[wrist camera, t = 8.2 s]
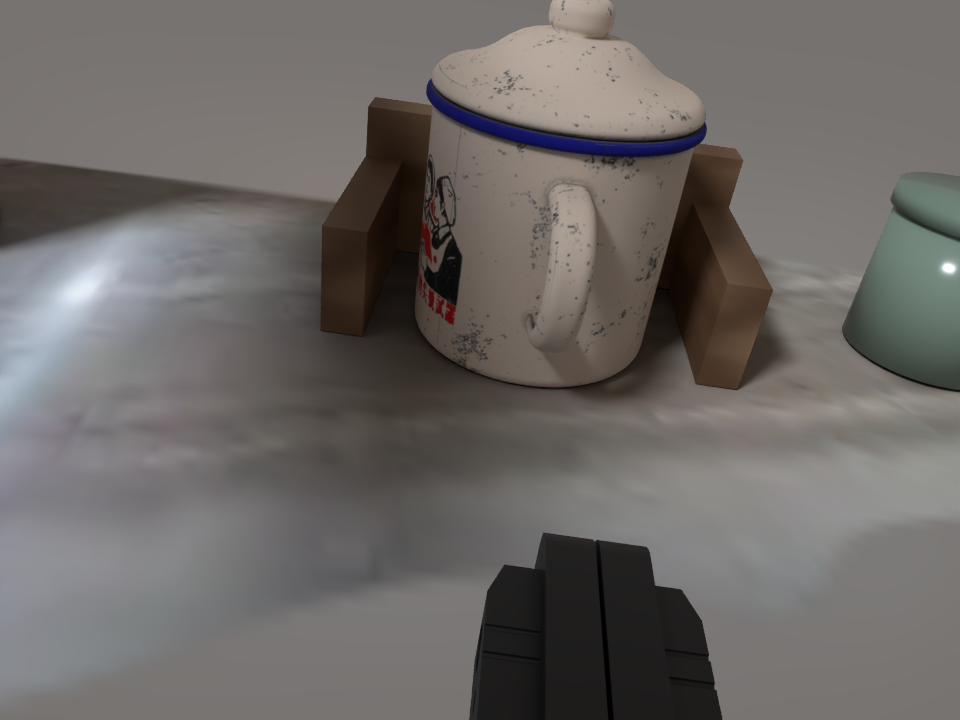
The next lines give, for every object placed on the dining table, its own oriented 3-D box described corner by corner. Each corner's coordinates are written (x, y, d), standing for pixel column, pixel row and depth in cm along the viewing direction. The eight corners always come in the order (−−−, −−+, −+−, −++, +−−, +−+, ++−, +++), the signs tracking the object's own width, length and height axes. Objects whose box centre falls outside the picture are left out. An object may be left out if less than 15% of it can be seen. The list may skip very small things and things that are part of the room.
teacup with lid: (416, 263, 34) (442, -40, 28) (626, 286, 34) (697, -5, 28) (386, 436, 24) (417, 20, 18) (684, 466, 24) (816, 73, 18)
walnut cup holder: (320, 330, 28) (323, 167, 25) (368, 231, 36) (375, 97, 33) (737, 389, 28) (793, 234, 25) (696, 278, 36) (735, 148, 33)
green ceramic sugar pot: (883, 385, 30) (979, 182, 26) (812, 306, 35) (882, 129, 31) (1039, 399, 30) (1156, 205, 26) (945, 320, 36) (1030, 149, 32)
